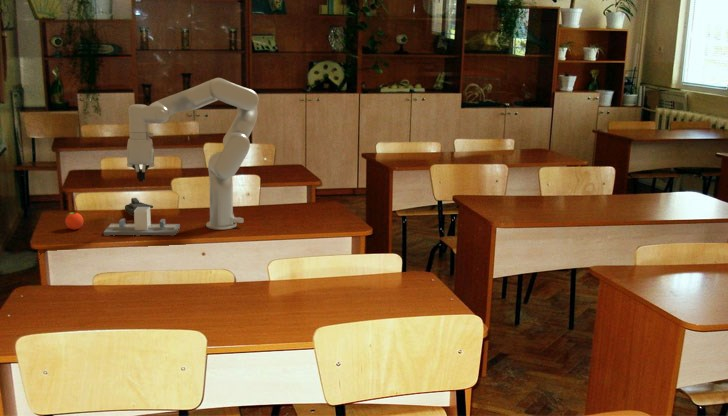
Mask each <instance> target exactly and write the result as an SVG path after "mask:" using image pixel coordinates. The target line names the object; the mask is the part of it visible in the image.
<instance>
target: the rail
mask: <svg viewBox="0 0 728 416" xmlns="http://www.w3.org/2000/svg"><path fill="white" fill-rule="evenodd" d="M118 224H119V225H110V224H109V225H110V226H109V225H108V226H109V229H135V225H125V224H126V218H121V219H119V221H118ZM159 224H160V225H149V226H148V229H175V227H176V225H165V224H166V218H161V219H160V220H159Z"/></svg>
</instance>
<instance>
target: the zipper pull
mask: <svg viewBox="0 0 728 416" xmlns="http://www.w3.org/2000/svg"><path fill="white" fill-rule="evenodd" d="M130 200H131V201H130V202H129V203H128V204H125V206H124V211H125V210H126V211H127V212H128V213H127V212H126V211H125V212H126V213H127V214H129V215H130V216H133V217H134V210H135V209H136V208H137V207H150V209H153V208H154V205H151V204H148V203H144V202H140V200H139V199H138V198H137V197H132V198H131V199H130Z"/></svg>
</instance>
